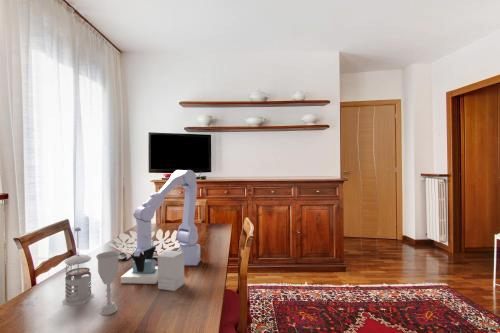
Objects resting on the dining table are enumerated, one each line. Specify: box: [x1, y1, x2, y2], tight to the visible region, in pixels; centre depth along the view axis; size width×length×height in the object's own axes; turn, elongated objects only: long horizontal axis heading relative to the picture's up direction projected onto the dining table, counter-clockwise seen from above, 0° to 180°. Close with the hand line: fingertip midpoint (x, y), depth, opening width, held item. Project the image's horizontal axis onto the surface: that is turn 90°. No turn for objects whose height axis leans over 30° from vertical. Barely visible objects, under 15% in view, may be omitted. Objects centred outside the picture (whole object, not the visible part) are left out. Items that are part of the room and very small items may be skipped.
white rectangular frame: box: [120, 265, 158, 285], centre depth 119 cm, size 14×12×2 cm
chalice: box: [95, 250, 121, 316], centre depth 92 cm, size 7×7×18 cm
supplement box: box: [157, 249, 185, 292], centre depth 110 cm, size 7×7×13 cm
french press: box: [61, 227, 95, 307], centre depth 101 cm, size 10×12×25 cm
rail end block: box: [132, 258, 156, 274], centre depth 119 cm, size 8×4×7 cm, turn 87°
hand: (144, 268), depth 119 cm, fingers open, 7 cm apart
